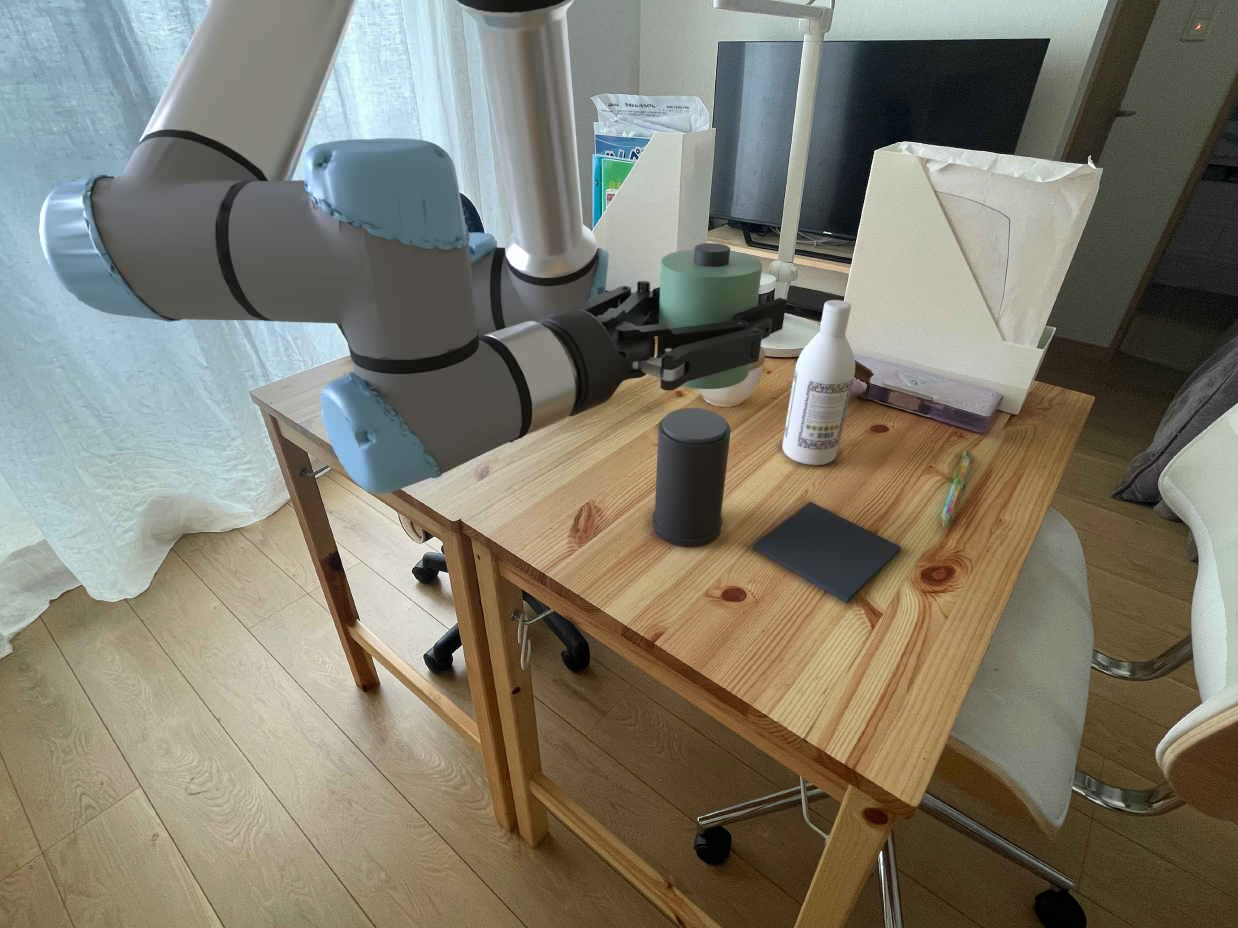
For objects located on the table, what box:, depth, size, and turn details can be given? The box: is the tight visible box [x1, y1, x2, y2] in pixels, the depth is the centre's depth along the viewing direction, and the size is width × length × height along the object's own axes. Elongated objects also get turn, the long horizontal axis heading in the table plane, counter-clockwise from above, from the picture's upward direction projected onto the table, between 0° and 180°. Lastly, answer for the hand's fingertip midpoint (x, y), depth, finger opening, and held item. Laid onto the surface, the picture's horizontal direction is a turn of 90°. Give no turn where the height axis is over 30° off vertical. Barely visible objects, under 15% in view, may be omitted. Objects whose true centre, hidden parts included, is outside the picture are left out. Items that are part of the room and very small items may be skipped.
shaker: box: [652, 407, 732, 548], centre depth 66 cm, size 8×8×13 cm
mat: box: [752, 501, 902, 604], centre depth 66 cm, size 11×11×1 cm
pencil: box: [941, 449, 975, 528], centre depth 75 cm, size 1×1×18 cm
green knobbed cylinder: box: [658, 242, 763, 390], centre depth 56 cm, size 9×9×11 cm
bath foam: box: [781, 299, 856, 466], centre depth 77 cm, size 7×7×20 cm
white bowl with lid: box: [695, 346, 766, 408], centre depth 93 cm, size 11×11×9 cm
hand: (738, 300), depth 59 cm, fingers closed on green knobbed cylinder, 9 cm apart
